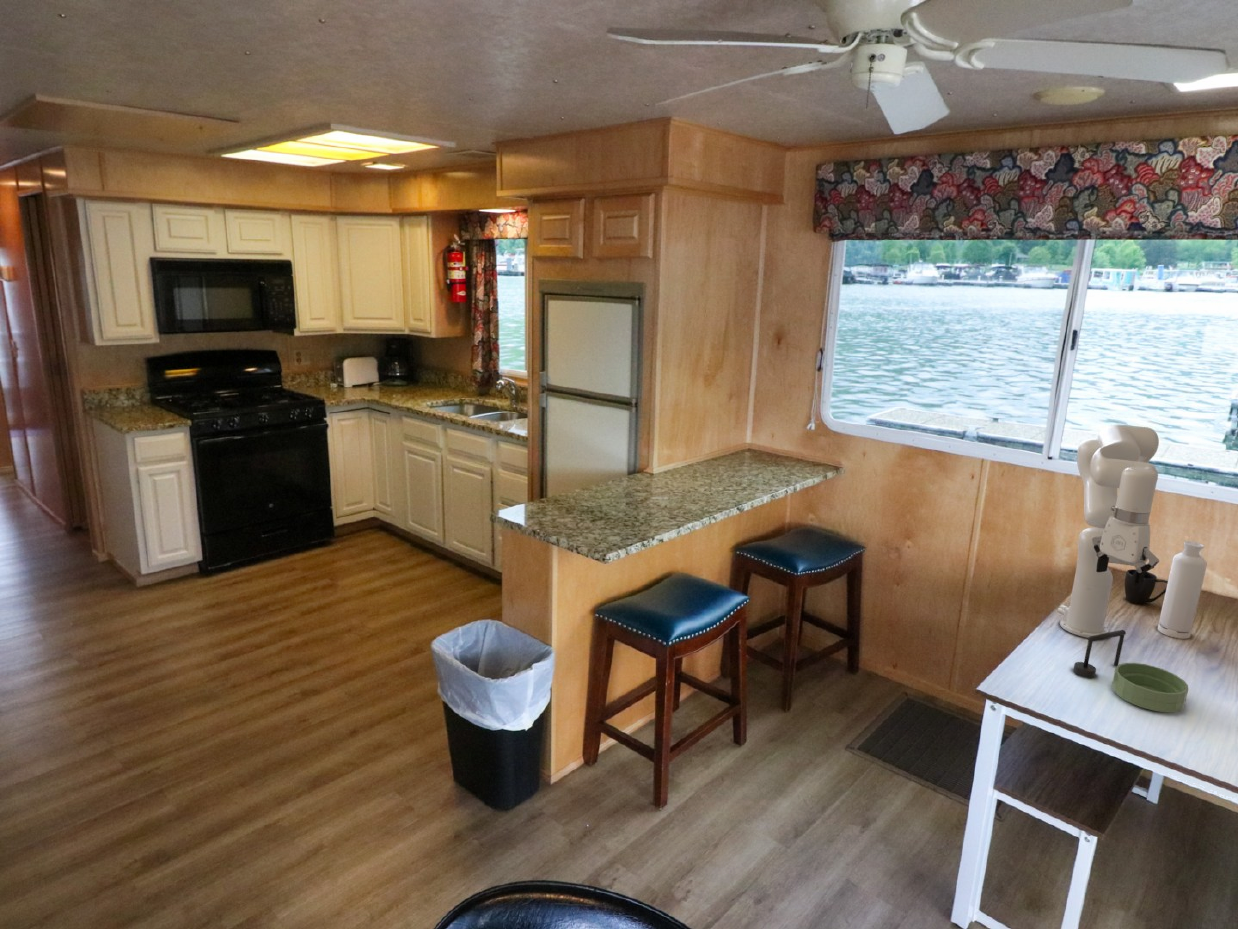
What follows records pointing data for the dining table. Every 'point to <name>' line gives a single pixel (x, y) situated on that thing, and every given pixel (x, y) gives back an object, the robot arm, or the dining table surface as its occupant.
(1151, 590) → the mug
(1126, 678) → the bowl
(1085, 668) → the ladle
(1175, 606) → the bottle
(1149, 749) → the dining table surface
